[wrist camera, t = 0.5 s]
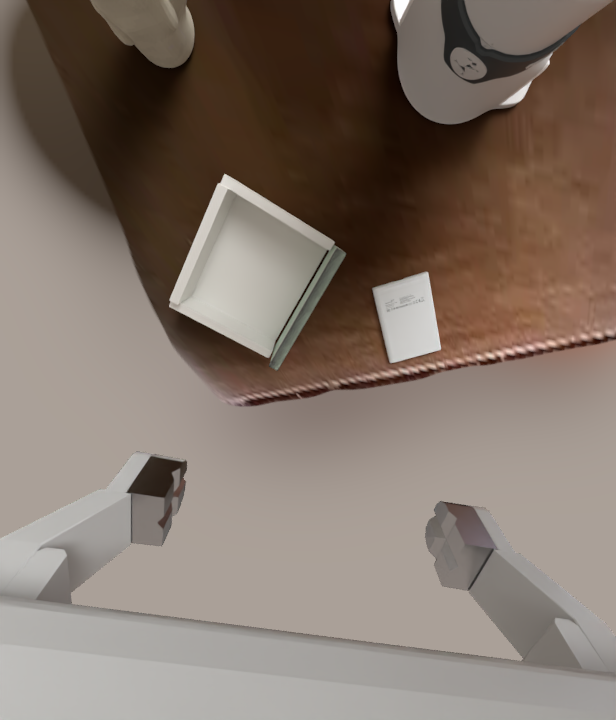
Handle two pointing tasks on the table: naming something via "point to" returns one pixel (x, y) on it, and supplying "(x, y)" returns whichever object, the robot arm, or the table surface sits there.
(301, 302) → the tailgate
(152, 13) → the cream statue
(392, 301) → the external hard drive
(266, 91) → the table surface
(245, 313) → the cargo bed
